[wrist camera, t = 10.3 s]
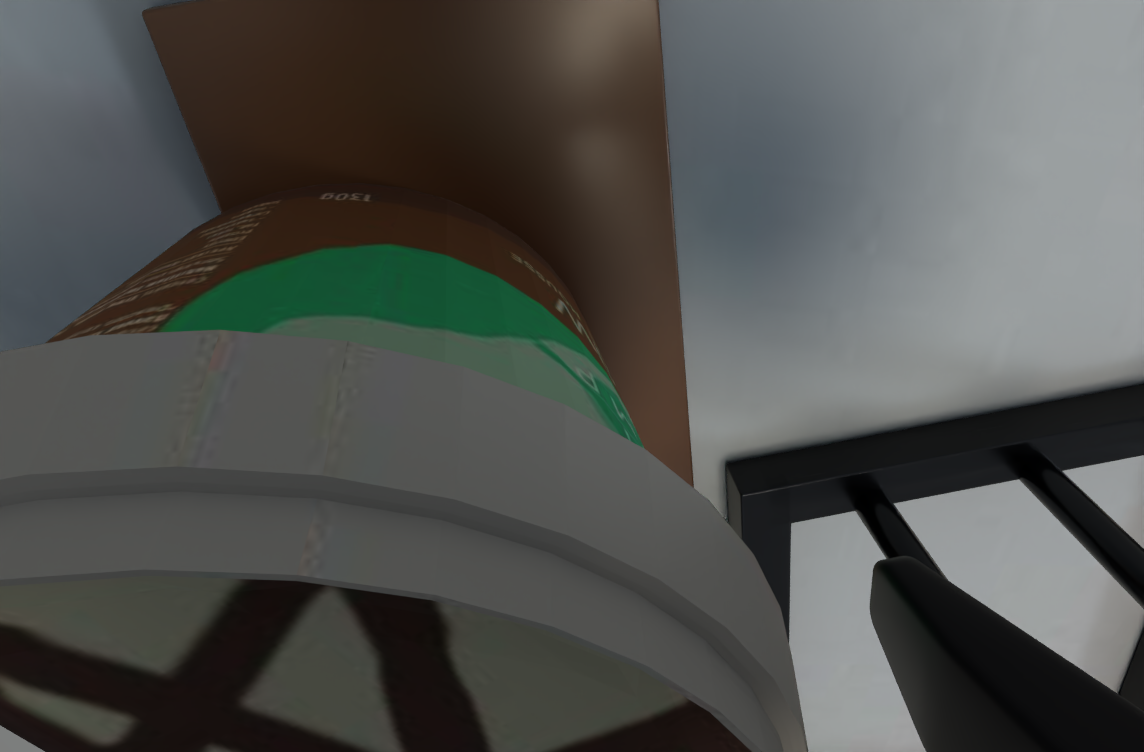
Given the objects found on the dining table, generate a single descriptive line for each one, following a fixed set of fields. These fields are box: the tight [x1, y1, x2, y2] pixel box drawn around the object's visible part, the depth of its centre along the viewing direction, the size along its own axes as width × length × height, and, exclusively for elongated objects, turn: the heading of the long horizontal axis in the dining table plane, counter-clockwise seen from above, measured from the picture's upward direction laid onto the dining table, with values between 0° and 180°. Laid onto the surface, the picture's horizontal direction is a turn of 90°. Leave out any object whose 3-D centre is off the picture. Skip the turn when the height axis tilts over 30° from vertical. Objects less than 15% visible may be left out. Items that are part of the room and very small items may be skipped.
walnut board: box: [142, 0, 694, 488], centre depth 16 cm, size 8×14×1 cm, turn 8°
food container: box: [0, 183, 808, 752], centre depth 11 cm, size 12×6×10 cm, turn 30°
